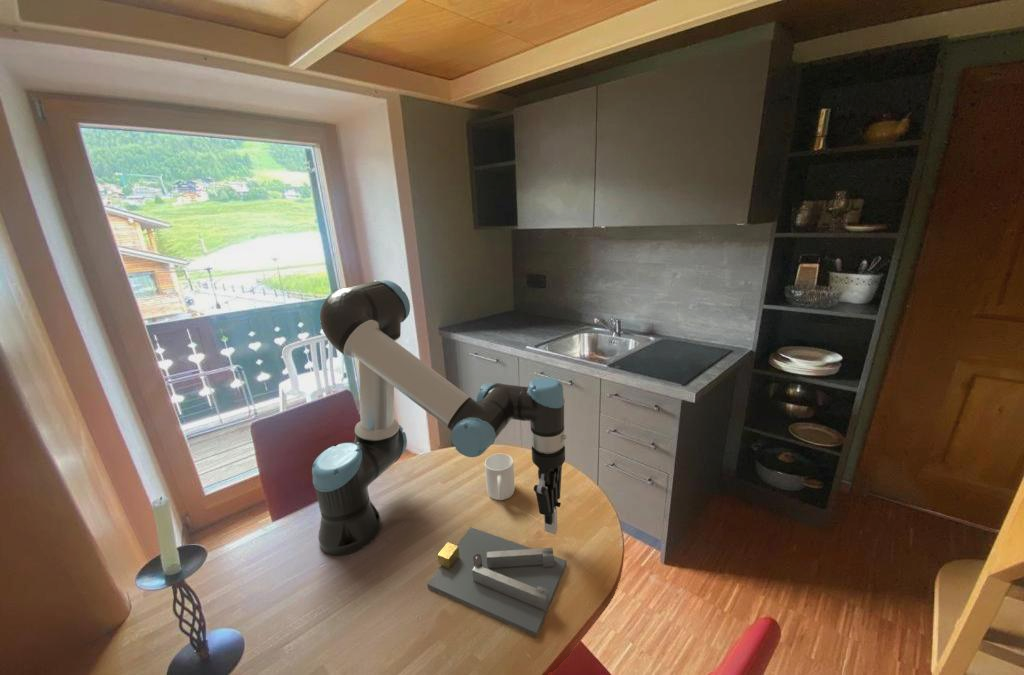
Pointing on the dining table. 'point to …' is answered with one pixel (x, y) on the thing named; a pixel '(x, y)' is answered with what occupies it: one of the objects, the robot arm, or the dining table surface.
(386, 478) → the dining table surface
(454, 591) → the board
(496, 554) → the tongs jaw
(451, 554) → the tab
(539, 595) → the tongs fixed
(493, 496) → the mug
